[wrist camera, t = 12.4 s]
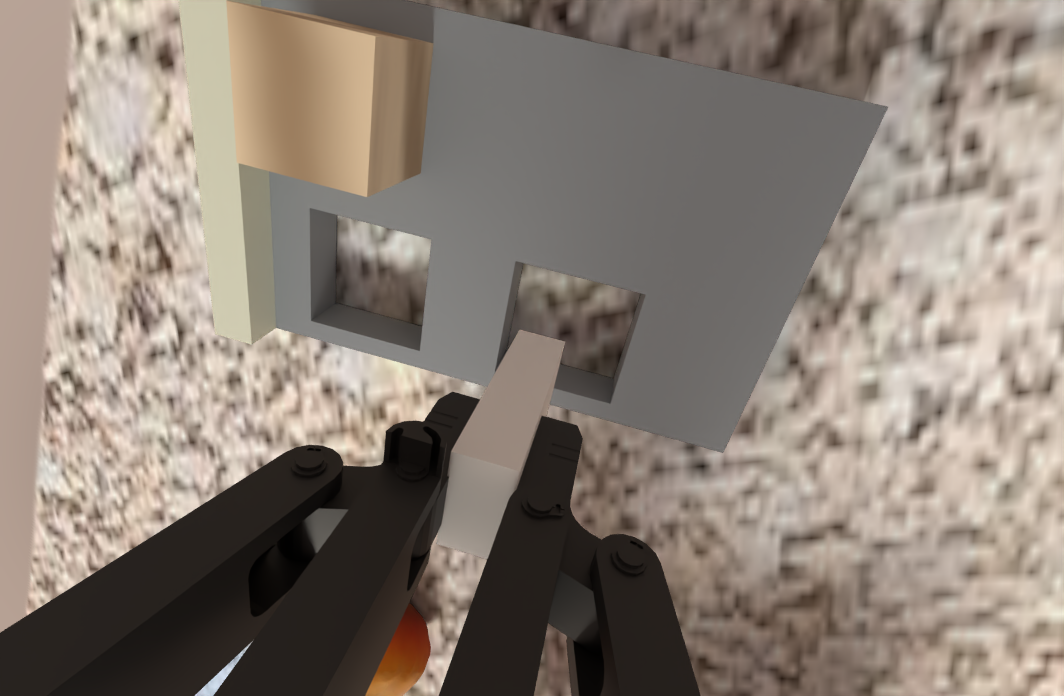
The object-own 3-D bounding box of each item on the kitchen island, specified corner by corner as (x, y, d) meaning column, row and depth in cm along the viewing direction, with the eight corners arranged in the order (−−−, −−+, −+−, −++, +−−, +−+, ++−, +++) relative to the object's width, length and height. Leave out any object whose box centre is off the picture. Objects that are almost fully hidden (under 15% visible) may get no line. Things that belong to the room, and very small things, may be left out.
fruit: (372, 565, 38) (363, 701, 33) (447, 582, 43) (448, 700, 39) (297, 591, 41) (279, 717, 36) (376, 603, 47) (368, 714, 42)
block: (433, 43, 21) (375, 36, 17) (420, 173, 23) (367, 197, 19) (313, 14, 21) (226, 0, 17) (313, 145, 24) (236, 162, 19)
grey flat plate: (864, 103, 21) (911, 110, 17) (717, 423, 29) (728, 479, 25) (253, -32, 23) (172, -53, 19) (270, 300, 31) (215, 334, 27)
